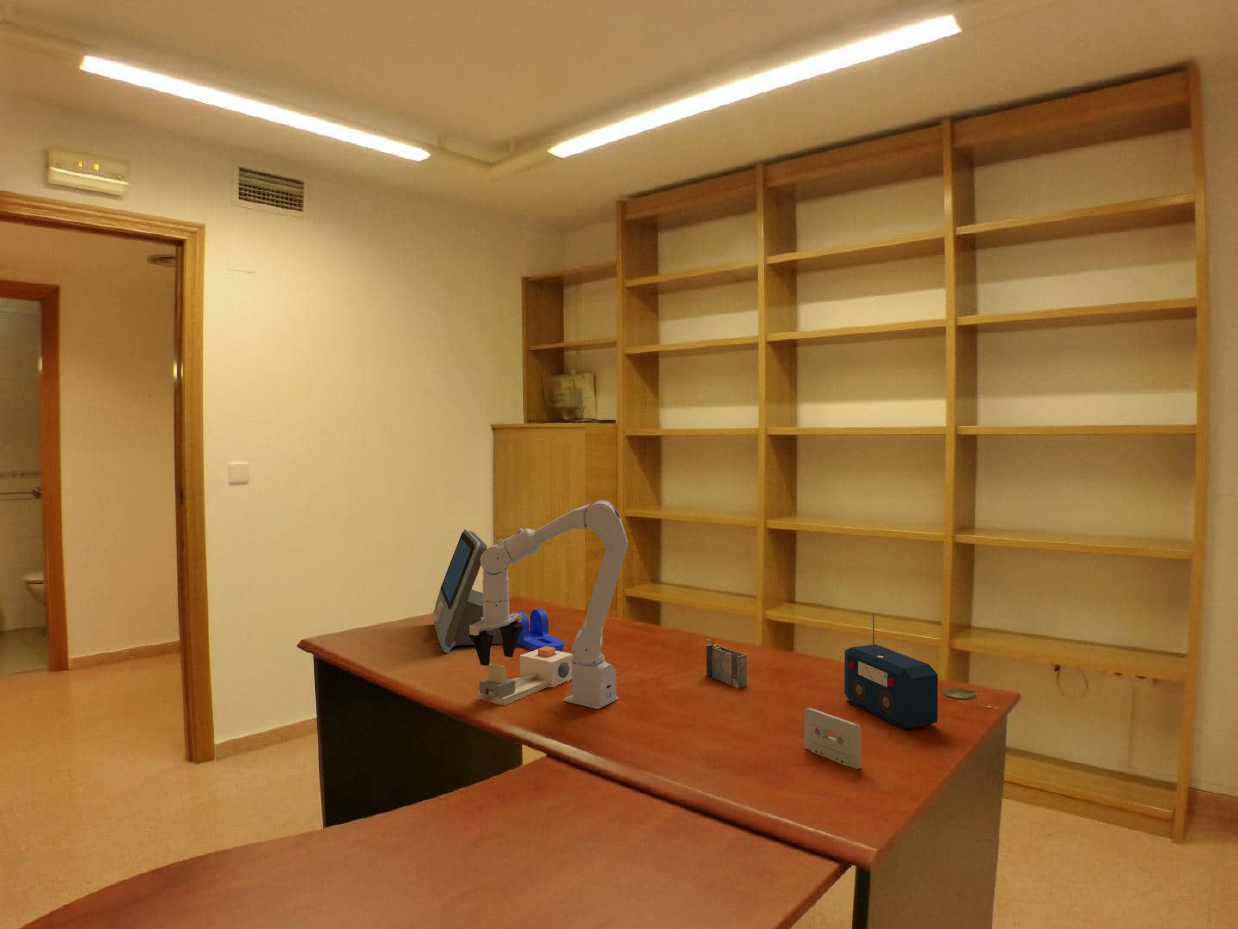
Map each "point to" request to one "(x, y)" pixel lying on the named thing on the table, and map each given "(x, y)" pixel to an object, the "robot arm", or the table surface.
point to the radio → (891, 685)
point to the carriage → (497, 681)
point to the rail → (521, 681)
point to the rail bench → (517, 691)
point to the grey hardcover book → (726, 665)
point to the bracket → (537, 632)
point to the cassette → (838, 749)
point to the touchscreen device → (461, 596)
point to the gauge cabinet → (548, 666)
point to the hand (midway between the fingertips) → (496, 660)
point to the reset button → (546, 652)
